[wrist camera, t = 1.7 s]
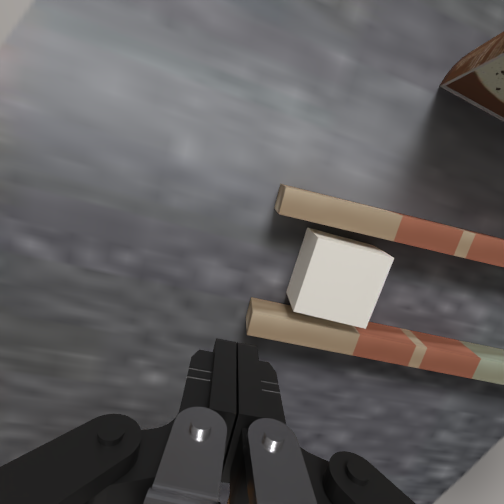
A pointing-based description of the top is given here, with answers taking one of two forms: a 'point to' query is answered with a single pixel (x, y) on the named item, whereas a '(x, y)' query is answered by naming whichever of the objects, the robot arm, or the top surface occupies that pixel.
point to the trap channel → (375, 335)
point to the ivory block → (337, 278)
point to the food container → (480, 77)
